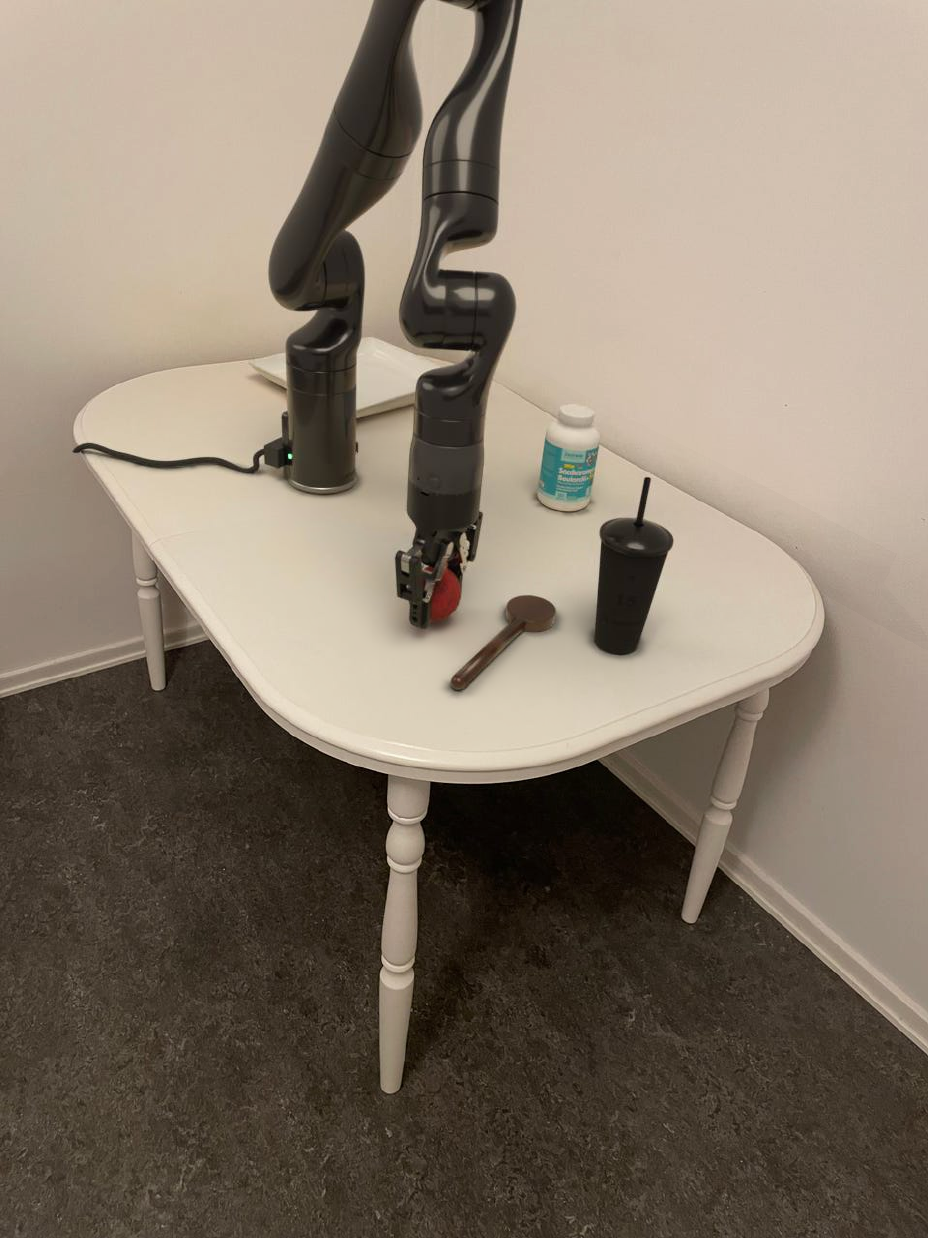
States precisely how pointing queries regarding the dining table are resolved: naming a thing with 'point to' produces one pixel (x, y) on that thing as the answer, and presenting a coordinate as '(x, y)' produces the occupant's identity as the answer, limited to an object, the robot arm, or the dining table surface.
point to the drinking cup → (628, 577)
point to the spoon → (509, 633)
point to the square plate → (368, 375)
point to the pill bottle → (569, 459)
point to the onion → (444, 594)
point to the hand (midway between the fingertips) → (435, 612)
